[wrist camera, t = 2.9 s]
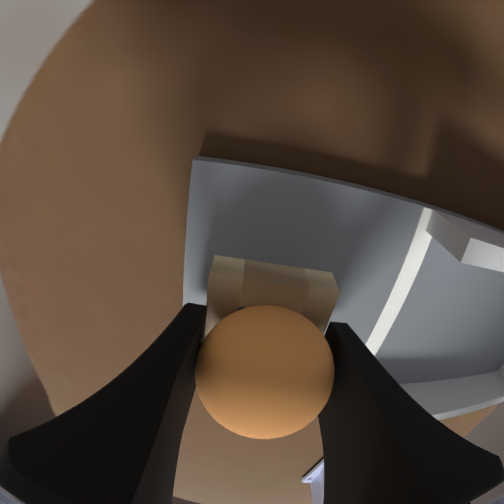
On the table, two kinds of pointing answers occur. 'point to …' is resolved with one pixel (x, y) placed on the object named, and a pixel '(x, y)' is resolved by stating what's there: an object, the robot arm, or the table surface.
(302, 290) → the frame
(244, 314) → the ball
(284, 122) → the table surface
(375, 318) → the tray
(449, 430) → the robot arm
